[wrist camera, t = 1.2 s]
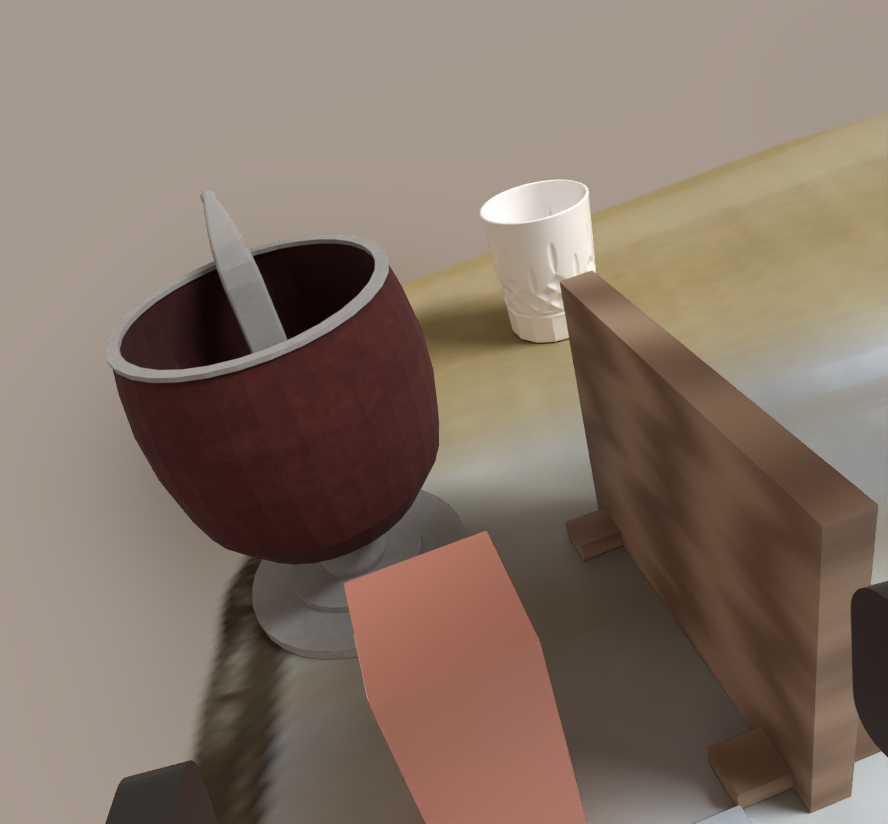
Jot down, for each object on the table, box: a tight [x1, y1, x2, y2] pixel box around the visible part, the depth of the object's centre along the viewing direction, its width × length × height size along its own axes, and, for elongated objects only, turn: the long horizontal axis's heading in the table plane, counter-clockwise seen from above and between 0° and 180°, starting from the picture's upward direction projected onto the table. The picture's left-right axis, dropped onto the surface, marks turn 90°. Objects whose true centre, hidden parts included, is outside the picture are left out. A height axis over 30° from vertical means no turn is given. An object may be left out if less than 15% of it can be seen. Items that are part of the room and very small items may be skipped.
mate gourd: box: [104, 190, 467, 660], centre depth 39 cm, size 16×14×20 cm
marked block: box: [344, 530, 587, 824], centre depth 27 cm, size 5×5×12 cm
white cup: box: [480, 180, 595, 343], centre depth 58 cm, size 8×8×10 cm
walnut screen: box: [560, 271, 881, 813], centre depth 31 cm, size 18×6×14 cm, turn 15°
